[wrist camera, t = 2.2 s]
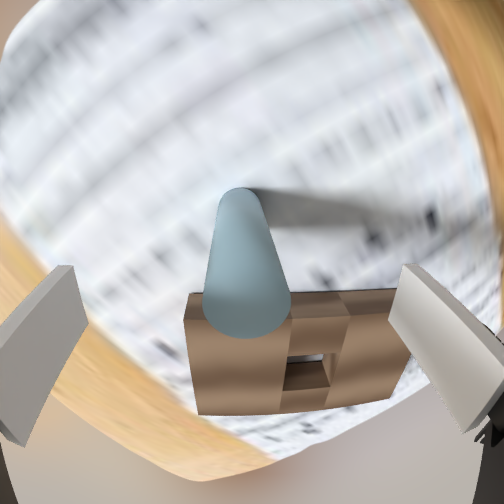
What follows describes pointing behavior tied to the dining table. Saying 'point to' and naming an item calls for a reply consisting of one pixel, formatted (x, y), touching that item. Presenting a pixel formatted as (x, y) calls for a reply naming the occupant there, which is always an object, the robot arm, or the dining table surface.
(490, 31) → the dining table surface
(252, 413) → the hole block
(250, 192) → the peg
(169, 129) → the dining table surface
